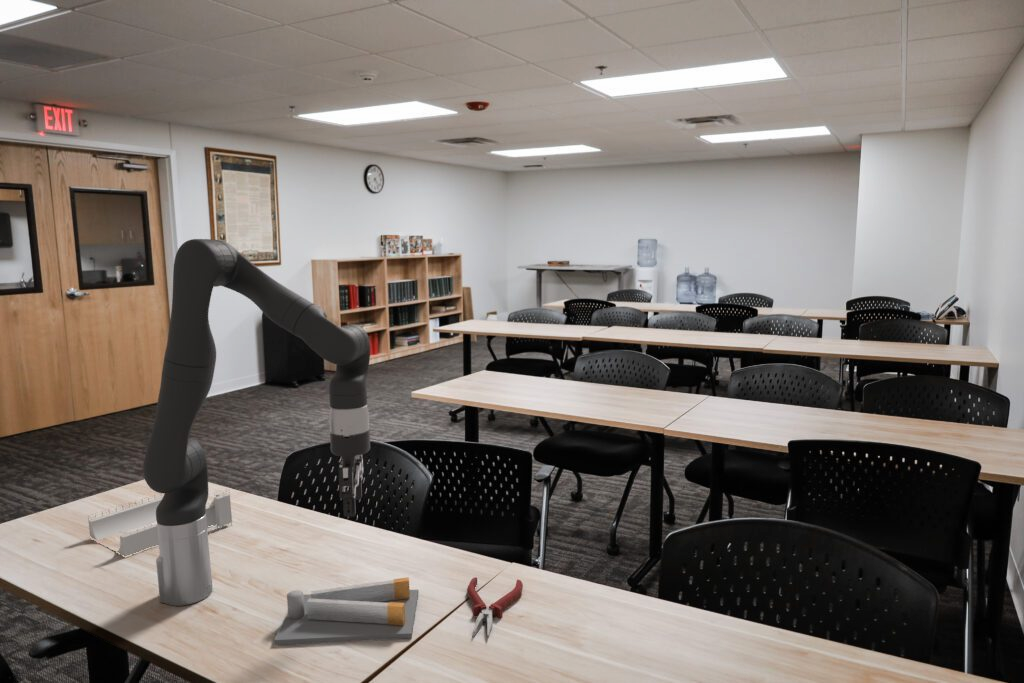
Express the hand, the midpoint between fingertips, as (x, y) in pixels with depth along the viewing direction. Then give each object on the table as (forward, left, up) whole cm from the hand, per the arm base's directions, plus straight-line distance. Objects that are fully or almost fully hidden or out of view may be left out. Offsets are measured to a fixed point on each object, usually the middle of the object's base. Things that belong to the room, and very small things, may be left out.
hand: (353, 507), depth 133 cm
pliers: (+25, -2, -22) cm, 33 cm away
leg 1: (+1, -1, -20) cm, 20 cm away
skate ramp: (-57, +41, -22) cm, 73 cm away
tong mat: (-1, -4, -21) cm, 21 cm away
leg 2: (+1, -7, -20) cm, 21 cm away
